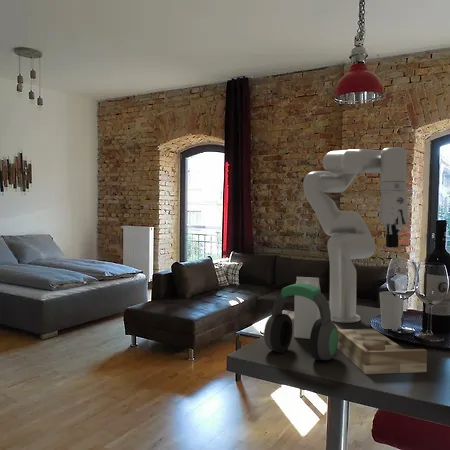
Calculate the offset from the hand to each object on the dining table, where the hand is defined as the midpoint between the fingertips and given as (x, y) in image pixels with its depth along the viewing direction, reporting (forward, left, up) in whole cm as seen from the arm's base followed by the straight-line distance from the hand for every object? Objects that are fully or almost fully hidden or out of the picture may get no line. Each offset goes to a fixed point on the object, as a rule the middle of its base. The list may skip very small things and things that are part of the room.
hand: (391, 247), depth 141 cm
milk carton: (-6, -25, -29) cm, 39 cm away
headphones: (+12, -32, -29) cm, 45 cm away
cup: (-12, +6, -29) cm, 32 cm away
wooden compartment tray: (+12, -11, -29) cm, 33 cm away
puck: (+23, -15, -27) cm, 39 cm away
